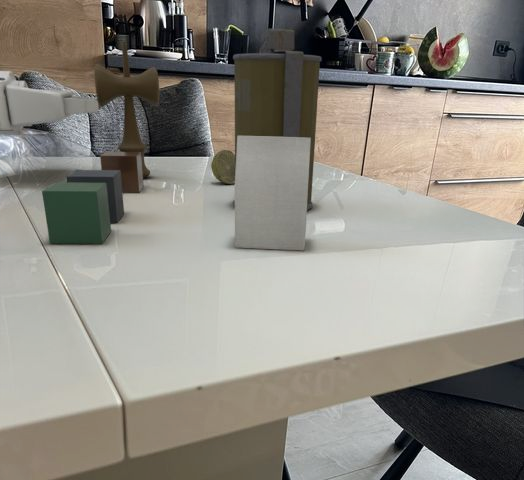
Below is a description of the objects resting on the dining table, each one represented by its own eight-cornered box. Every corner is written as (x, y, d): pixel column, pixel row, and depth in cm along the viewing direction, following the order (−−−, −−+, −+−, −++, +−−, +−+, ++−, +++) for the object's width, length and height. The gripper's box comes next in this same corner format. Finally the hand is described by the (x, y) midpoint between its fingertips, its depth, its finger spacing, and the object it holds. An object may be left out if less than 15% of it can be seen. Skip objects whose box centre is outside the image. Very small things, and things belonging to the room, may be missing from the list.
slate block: (72, 222, 61) (65, 176, 59) (82, 213, 65) (76, 169, 63) (117, 222, 61) (113, 176, 59) (124, 213, 66) (120, 170, 64)
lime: (243, 181, 89) (243, 149, 87) (235, 186, 85) (234, 152, 83) (216, 180, 90) (216, 148, 88) (207, 184, 86) (206, 151, 83)
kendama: (105, 175, 92) (91, 39, 84) (163, 174, 94) (155, 41, 86) (104, 180, 87) (89, 36, 78) (165, 179, 89) (157, 39, 80)
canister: (224, 199, 75) (223, 31, 66) (295, 196, 78) (303, 35, 69) (247, 216, 66) (249, 23, 57) (326, 212, 69) (340, 28, 60)
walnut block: (103, 192, 78) (100, 155, 76) (110, 186, 82) (106, 151, 80) (139, 192, 78) (136, 155, 76) (143, 186, 83) (141, 152, 81)
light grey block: (304, 250, 53) (310, 139, 48) (234, 247, 53) (234, 137, 49) (305, 240, 56) (310, 136, 52) (239, 238, 56) (239, 134, 52)
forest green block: (49, 243, 53) (41, 190, 51) (62, 231, 57) (55, 182, 55) (102, 243, 53) (96, 191, 51) (111, 231, 58) (106, 182, 56)
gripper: (20, 121, 93) (104, 122, 96) (-6, 131, 75) (99, 131, 78) (13, 80, 90) (100, 82, 93) (-15, 80, 72) (94, 82, 75)
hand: (99, 104), depth 85 cm, fingers open, 8 cm apart
